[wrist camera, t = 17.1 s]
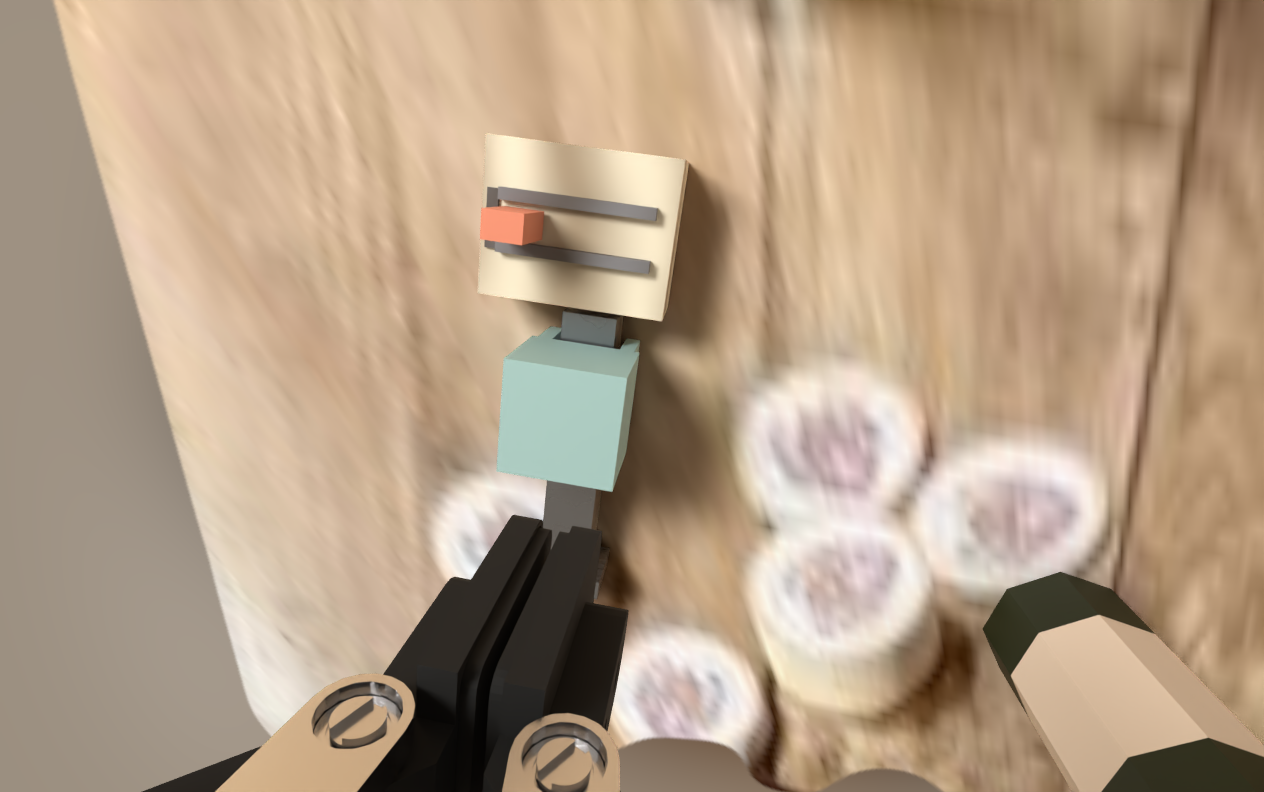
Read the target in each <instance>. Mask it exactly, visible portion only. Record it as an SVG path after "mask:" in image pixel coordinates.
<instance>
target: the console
mask: <svg viewBox="0 0 1264 792" xmlns="http://www.w3.org/2000/svg"><path fill="white" fill-rule="evenodd" d="M688 168H689V162H688V161H687V160H685V159H677V158H670V157H662V156H655V155H647V154H639V153H632V152H624V151H617V150H609V149H601V148H594V147H586V146H579V145H571V144H563V143H556V142H548V141H541V140H533V139H525V138H518V137H510V136H503V135H495V134H488V133H486V135H485V156H484V176H483V196H482V208H486V207H499V206H510V207H517V208H524V209H531V210H538V211H544V222H543V234H542V240H539V241H536V242H532V243H529V244H525V245H516V244H509V243H502V242H496V241H489V240H482V239H480V256H479V276H478V293H480V294H487V295H493V296H500V297H506V298H513V299H519V300H526V301H532V302H539V303H545V304H552V305H558V306H565V307H571V308H578V309H584V310H591V311H597V312H604V313H610V314H617V315H624V316H630V317H637V318H643V319H650V320H656V321H662V320H663V318H664V316H665V313H666V311H667V309H668V303H669V297H670V290H671V283H672V276H673V269H674V263H675V256H676V249H677V242H678V235H679V229H680V222H681V215H682V208H683V201H684V195H685V188H686V181H687V174H688Z"/></svg>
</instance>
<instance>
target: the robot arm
mask: <svg viewBox="0 0 1264 792" xmlns="http://www.w3.org/2000/svg"><path fill="white" fill-rule="evenodd" d="M601 539H602V531H600V530H594V529H589V528H583V527H578V526H572V528H571V530H570V532H569V533H567V532H561V531H560V532H559V534H558V536H557V538H556V540H555V542H554V544H553V547H552V549H551V543H552V530H550V529H545V528H543V521H542V520H539V519H534V518H528V517H523V516H517V515H512V517H511V518H510V519H509V521H508V522H507V524H506V526H505V527H504V529H503V530H502V532H501V533H500V535H499V537H498V538H497V540H496V541H495V543H494V545H493V546H492V548H491V549H490V551H489V552H488V554H487V556H486V557H485V559H484V560H483V562H482V563H481V565H480V567H479V568H478V570H477V571H476V573H475V574H474V576H473V578H472V579H471V580H469V579H464V578H459V577H453V578H451V579H450V580H449V581H448V582H447V583H446V585H445V586H444V588H443V589H442V590H441V592H440V593H439V595H438V596H437V598H436V599H435V601H434V602H433V603H432V605H431V606H430V608H429V609H428V611H427V612H426V614H425V615H424V616H423V618H422V619H421V621H420V622H419V624H418V625H417V627H416V628H415V629H414V631H413V632H412V634H411V635H410V637H409V638H408V640H407V641H406V642H405V644H404V645H403V647H402V648H401V650H400V651H399V653H398V654H397V655H396V657H395V658H394V660H393V661H392V663H391V664H390V666H389V667H388V668H387V670H386V671H385V673H384V674H383V675H381V674H359V675H355V676H351V677H347V678H343V679H341V680H339V681H337V682H335V683H332V684H330V685H328V686H326V687H325V688H324V689H322V690H321V691H320V692H319V693H317V694H316V695H315V696H313V697H312V698H311V699H310V700H309V701H308V702H307V703H306V704H305V705H304V706H303V707H302V708H301V709H300V710H299V711H298V712H297V713H296V714H295V715H294V716H293V717H292V718H291V719H290V720H289V721H288V722H286V723H285V724H284V725H283V726H282V727H281V728H280V729H279V730H278V731H277V732H276V733H275V734H274V735H273V736H272V737H271V738H270V739H269V740H268V741H267V742H266V743H265V744H264V745H263V746H261V747H258V748H255V749H253V750H250V751H247V752H245V753H242V754H240V755H237V756H234V757H232V758H229V759H227V760H224V761H221V762H219V763H216V764H213V765H211V766H208V767H206V768H203V769H201V770H198V771H195V772H192V773H190V774H187V775H185V776H182V777H179V778H177V779H174V780H172V781H169V782H166V783H164V784H161V785H159V786H156V787H153V788H151V789H148V790H145V791H143V792H620V760H619V755H618V749H617V746H616V744H615V742H614V741H613V739H612V737H611V735H610V734H609V733H608V732H607V731H608V726H609V721H610V716H611V711H612V706H613V702H614V697H615V692H616V687H617V681H618V676H619V670H620V664H621V658H622V652H623V646H624V640H625V633H626V626H627V619H628V610H625V609H620V608H615V607H610V606H604V605H599V604H594V603H593V602H594V594H595V586H596V578H597V571H598V563H599V555H600V547H601Z"/></svg>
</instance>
